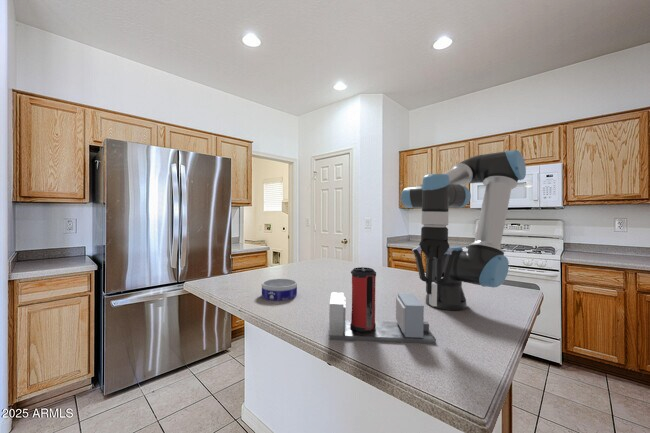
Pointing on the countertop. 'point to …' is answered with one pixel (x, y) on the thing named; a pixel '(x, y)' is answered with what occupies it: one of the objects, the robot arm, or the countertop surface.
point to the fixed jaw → (337, 314)
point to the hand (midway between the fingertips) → (432, 304)
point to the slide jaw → (410, 315)
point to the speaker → (363, 299)
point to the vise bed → (382, 334)
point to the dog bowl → (279, 289)
